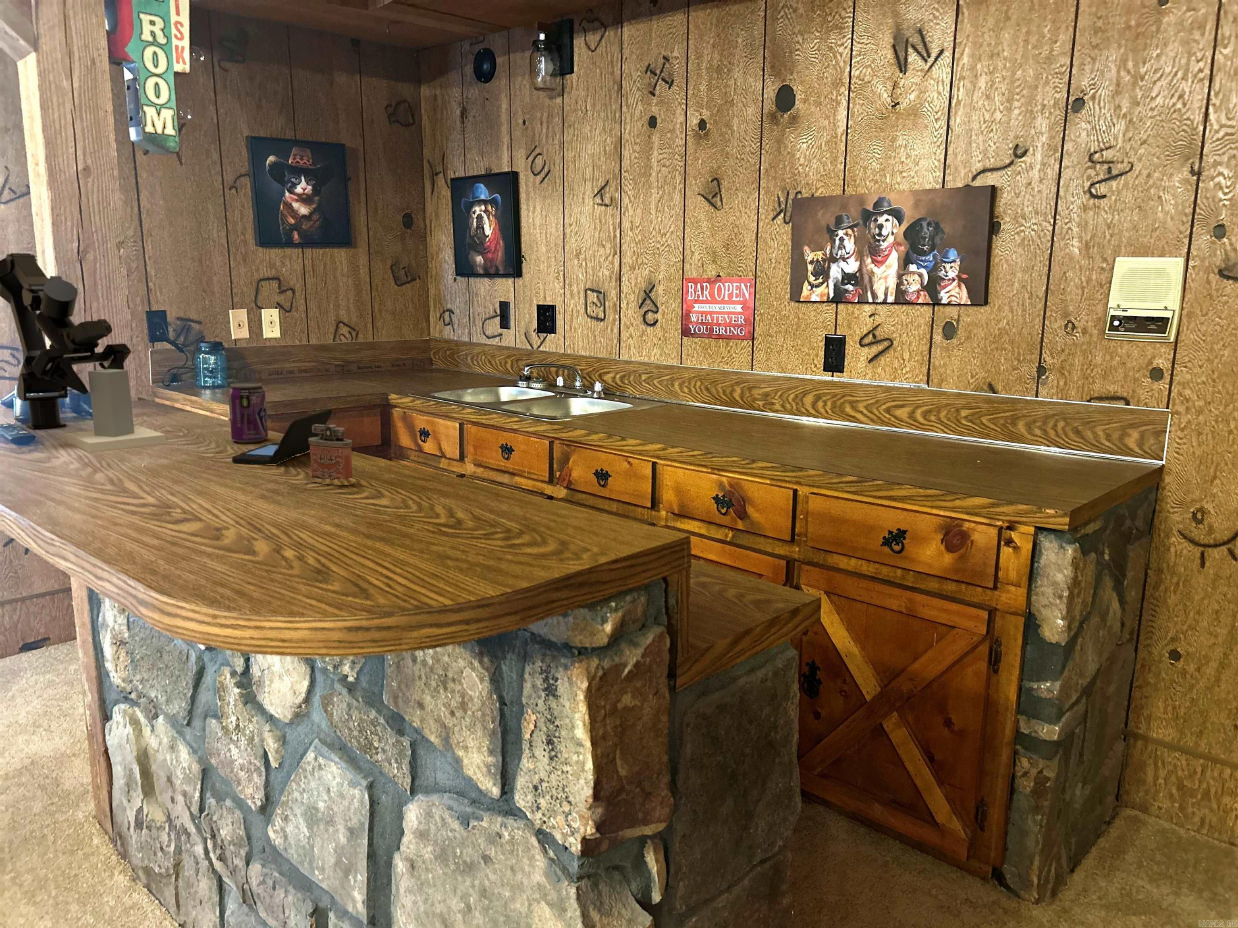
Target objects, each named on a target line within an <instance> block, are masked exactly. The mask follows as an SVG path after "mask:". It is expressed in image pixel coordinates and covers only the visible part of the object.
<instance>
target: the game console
mask: <svg viewBox="0 0 1238 928" xmlns="http://www.w3.org/2000/svg"><path fill="white" fill-rule="evenodd" d="M332 414H333V410H332V409H327V410H326V409H325V410H322V411H320V412H317V413H314V414H313V413H312V414H311V415H306V416H303V417H301V418H297V419H295V420H293V421H292V422H291V423H290V424H289V425H288V427H287V429H286V430H285V432H284V434H283V435H282V437H281V440H280V442H272V443H268V444H264V445H261V446H258V447H256V448H252V449H250V450H247V451H244V452H241V453H240V454H237V455H233V456H232V457H231V462H232V463H233V464H238V463H245V464H244V465H255V464H277V463H279V462H281V461H284V460H287V459H289V458H291V457H292V456H295V455H297V454H302V453H305V452H307V451H309V450H310V444H309V438H313V437H319V434H320V433H315V432H312V426H313V425H326V426H327V423H328V422H329V419H331V416H332ZM252 463H254V464H252Z"/></svg>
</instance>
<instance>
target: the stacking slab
mask: <svg viewBox="0 0 1238 928" xmlns="http://www.w3.org/2000/svg"><path fill="white" fill-rule="evenodd" d="M166 440H167V439H166V434H164V433H162V432H159V431H156V430H153V429H150V428H147V427H145V426H141V425H134V433H132V434H127V435H122V436H118V437H107V436H95V433H94V430H87V431H79V432H78V431H76V432H75V431H74V432H67V433H66V441H67V443H68V444H70V445H73V446H75V447H77V448H79V449H80V450H84V451H85V452H88V453H90V454H92V453H99V452H108V451H116V450H125V449H132V448H141V447H151V446H158V445H166V444H167V441H166Z"/></svg>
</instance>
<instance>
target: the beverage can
mask: <svg viewBox="0 0 1238 928" xmlns="http://www.w3.org/2000/svg"><path fill="white" fill-rule="evenodd" d="M229 386H230V389H229V391H228V408H229V419H230V421H229V422H230V434H231V435H230V436H231V439H232V440H233V441H235V442H236V443H239V444H255V443H260V442H263V441H264V440H266V439H268V437H269V431H268V430H269V429H268V418H267V402H266V401H267V400H266V398H267V397H266V391H265V390H264V389H263V383H260V382H238V383H237V382H236V383H231V384H230V385H229Z"/></svg>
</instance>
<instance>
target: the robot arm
mask: <svg viewBox="0 0 1238 928" xmlns="http://www.w3.org/2000/svg"><path fill="white" fill-rule="evenodd" d="M78 295H79V293H78V288H77V287H76V286H75V285H74V284H72V283H70V282H69V281H67V280H63V277H62V276H61V275H50V276H49V277H48V276H47V275H46V274H45V272H44V271H43V270H42V268H41V267H40V265H39V264H38V262H37V259H36V256H35V255H34V254H32V253H27V252H22V253H19V252H11V253H7V254H6V255H5V257H4V258H2V259H0V297H1V298H2V299H3V300H4V301H6V302H7V303H8V304H9V305H10V308H11V312H12V316H13V319H14V323H15V326H16V330H17V335H18V337H19V341H20V346H21V348H22V349H21V350H22V352H23V356H24V360H23V362H22V365H21V369H20V372H19V374H18V379H17V381H18V382H17V389H16V391H17V393H16V394H17V396H18V400H20V401H21V402H27V404H28V411H29V413H28V414H29V420H30V421H29V422H27V423H25V426H26V427H29V428H30V429H33V430H39V429H49V428H60V427H66V426H67V423H65V422H63V421H61V420H62V419H61V411H60V401H59V399H68V398H69V392H68V391H69V389H72V390H74V391H75V392H78V393H81V394H82V395H83V396H84V395H87V394H88V393H89V390H88V388H87V387H86V385H85V383H84V382H83V381H82V379H81V378H80V376H79V375H78V374H77V372H76V370H75V369H74V367H73V366H80V365H82V366H83V365H92V364H98V366H99V367H100V369H101V370H103V369H119V370H125V365H124V363H126V361H127V359H128V358H129V356H130V355H131V353H132V351H131V349H130V348H129V346H128V345H127V344H126V343H123V342H122V343H121V342H119V343H107V344H106V345H105V347H104V349H103V350H102V351H100V352H98V351H97V352H96V350H95V349H97V348H98V347H99V346H100V342H99V341H100V340H102V339H103V338H106V337H108V336H109V335H110V334H112V332H113V328H112V325H111V323H110V322H109V321H108V320H107V319H106V318H98V319H97V320H85V321H81V322H79V323H78V324H75V323H74V321H73V320H72V319H71V318H70V317H73V316H74V312H75V307H76V303H77V297H78ZM44 335H45V337H46V338H47V339H48V341H49V343H50V344H49V346H48V348H47V345H46V342H45V338H44Z"/></svg>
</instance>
